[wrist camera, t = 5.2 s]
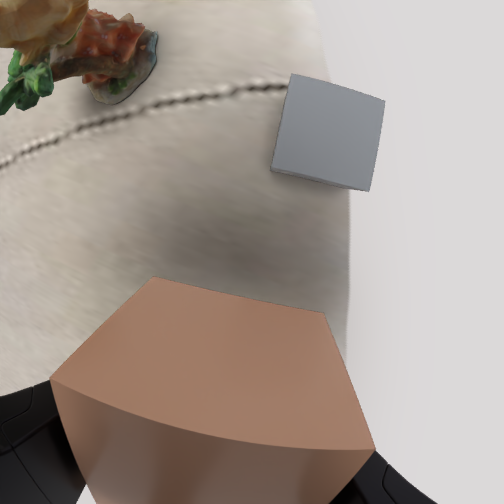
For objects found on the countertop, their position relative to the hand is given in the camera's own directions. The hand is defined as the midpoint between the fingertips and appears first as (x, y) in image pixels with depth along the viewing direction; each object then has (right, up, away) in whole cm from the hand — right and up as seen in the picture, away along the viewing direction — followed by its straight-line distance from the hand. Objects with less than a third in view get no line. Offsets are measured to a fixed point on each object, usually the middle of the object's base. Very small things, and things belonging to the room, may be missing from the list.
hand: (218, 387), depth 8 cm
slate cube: (+5, +11, +10) cm, 16 cm away
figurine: (-9, +17, +9) cm, 21 cm away
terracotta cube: (0, 0, +1) cm, 1 cm away
